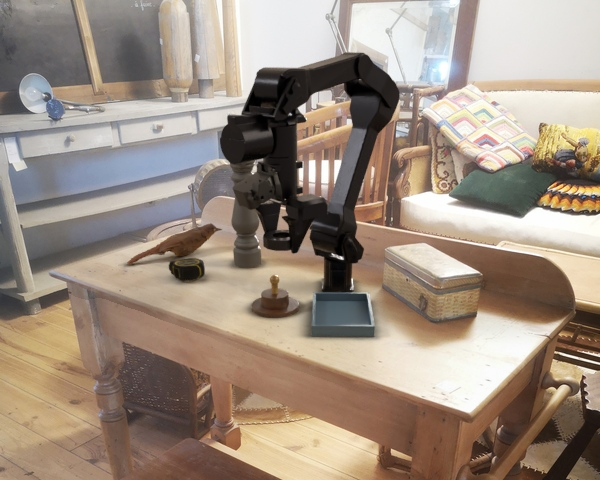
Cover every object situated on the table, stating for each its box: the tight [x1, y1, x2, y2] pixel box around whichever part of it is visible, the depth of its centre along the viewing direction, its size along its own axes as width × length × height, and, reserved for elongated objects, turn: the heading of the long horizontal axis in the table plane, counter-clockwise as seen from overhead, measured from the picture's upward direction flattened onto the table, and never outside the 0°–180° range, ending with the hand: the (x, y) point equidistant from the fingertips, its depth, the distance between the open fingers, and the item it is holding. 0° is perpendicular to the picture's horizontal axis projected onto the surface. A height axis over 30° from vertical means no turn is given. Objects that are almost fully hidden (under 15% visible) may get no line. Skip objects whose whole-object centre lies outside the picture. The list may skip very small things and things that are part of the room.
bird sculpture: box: [126, 222, 223, 266], centre depth 139 cm, size 7×25×5 cm, turn 127°
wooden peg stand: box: [251, 274, 300, 319], centre depth 111 cm, size 9×9×6 cm
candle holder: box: [227, 160, 262, 269], centre depth 128 cm, size 6×6×25 cm
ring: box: [262, 229, 291, 252], centre depth 105 cm, size 7×7×2 cm
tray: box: [311, 291, 376, 338], centre depth 108 cm, size 15×11×2 cm
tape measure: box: [168, 257, 206, 282], centre depth 126 cm, size 7×7×4 cm
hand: (282, 248), depth 106 cm, fingers closed on ring, 7 cm apart
